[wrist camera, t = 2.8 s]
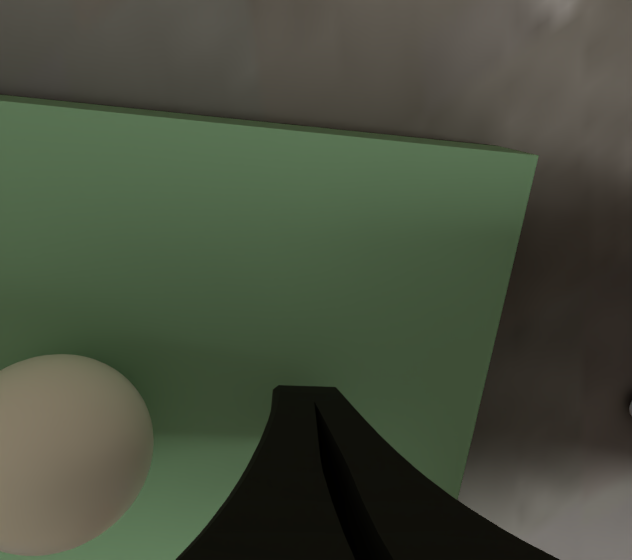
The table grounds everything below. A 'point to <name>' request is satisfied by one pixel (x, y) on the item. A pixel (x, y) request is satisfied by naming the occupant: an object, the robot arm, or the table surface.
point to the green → (253, 284)
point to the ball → (68, 452)
